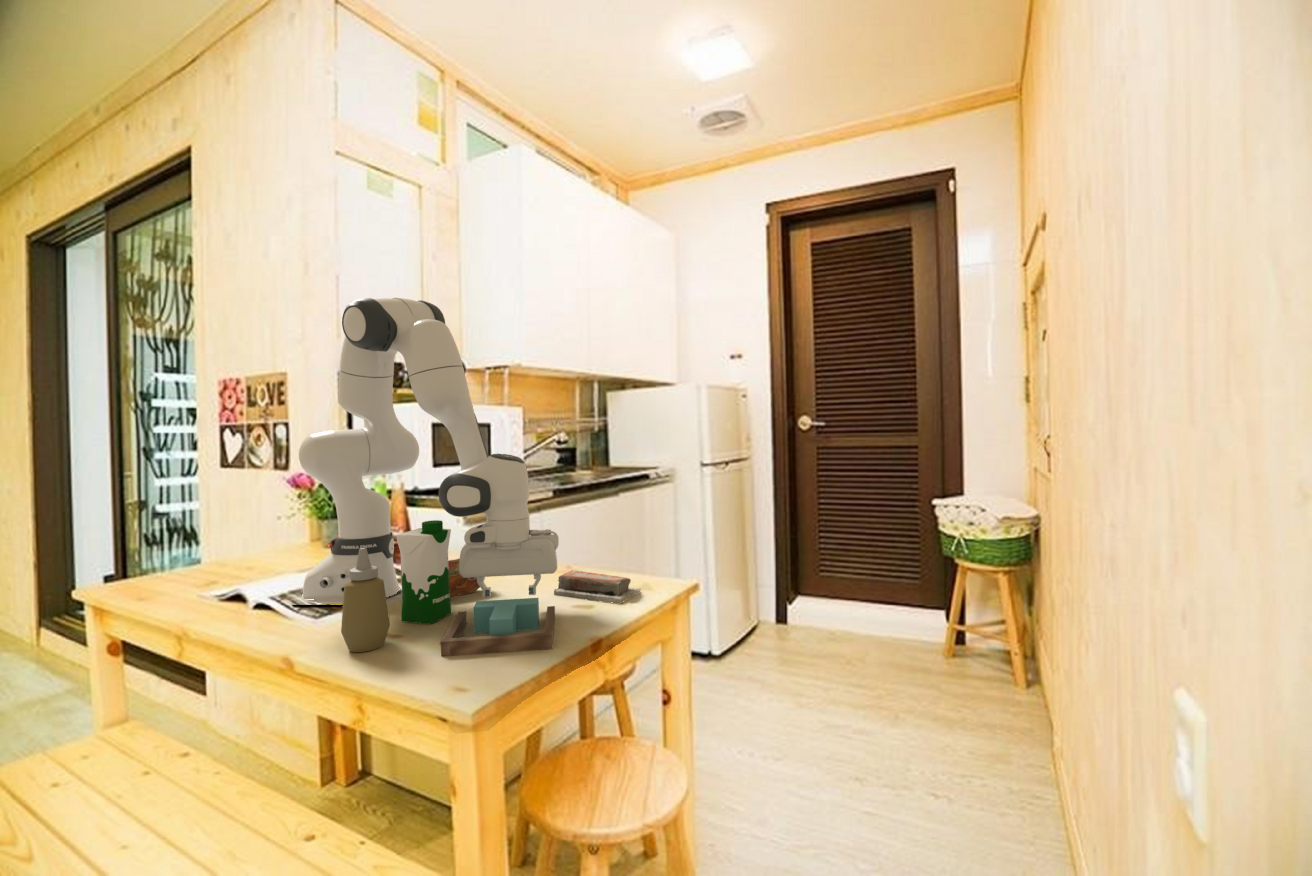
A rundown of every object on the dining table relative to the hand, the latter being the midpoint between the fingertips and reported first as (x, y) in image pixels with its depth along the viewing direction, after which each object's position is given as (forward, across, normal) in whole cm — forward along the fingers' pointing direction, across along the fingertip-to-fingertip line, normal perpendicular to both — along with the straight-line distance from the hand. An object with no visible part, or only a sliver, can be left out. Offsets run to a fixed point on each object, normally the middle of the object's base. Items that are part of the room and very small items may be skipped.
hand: (509, 595), depth 130 cm
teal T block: (+3, 0, +14) cm, 15 cm away
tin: (+4, +15, -15) cm, 22 cm away
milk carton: (+4, +17, +1) cm, 17 cm away
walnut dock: (+3, 0, +14) cm, 14 cm away
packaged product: (+4, -19, -9) cm, 21 cm away
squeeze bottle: (+4, +24, +16) cm, 29 cm away
